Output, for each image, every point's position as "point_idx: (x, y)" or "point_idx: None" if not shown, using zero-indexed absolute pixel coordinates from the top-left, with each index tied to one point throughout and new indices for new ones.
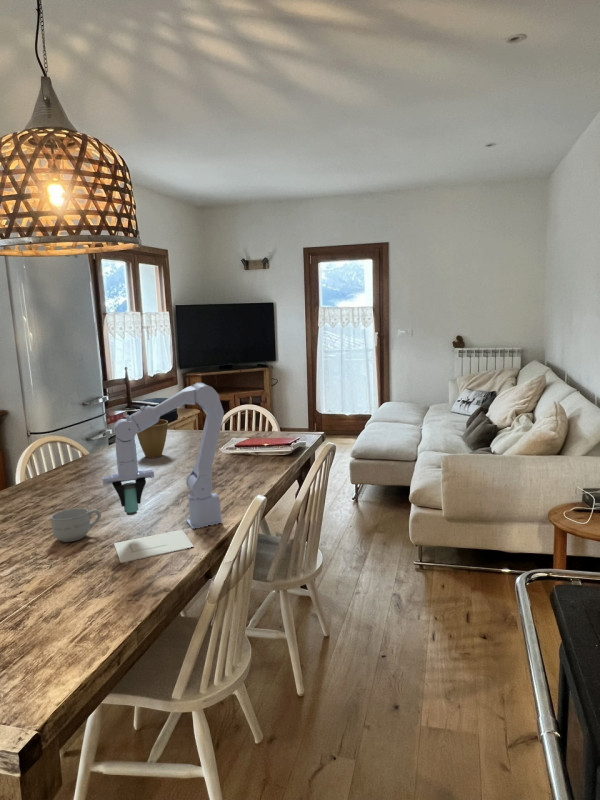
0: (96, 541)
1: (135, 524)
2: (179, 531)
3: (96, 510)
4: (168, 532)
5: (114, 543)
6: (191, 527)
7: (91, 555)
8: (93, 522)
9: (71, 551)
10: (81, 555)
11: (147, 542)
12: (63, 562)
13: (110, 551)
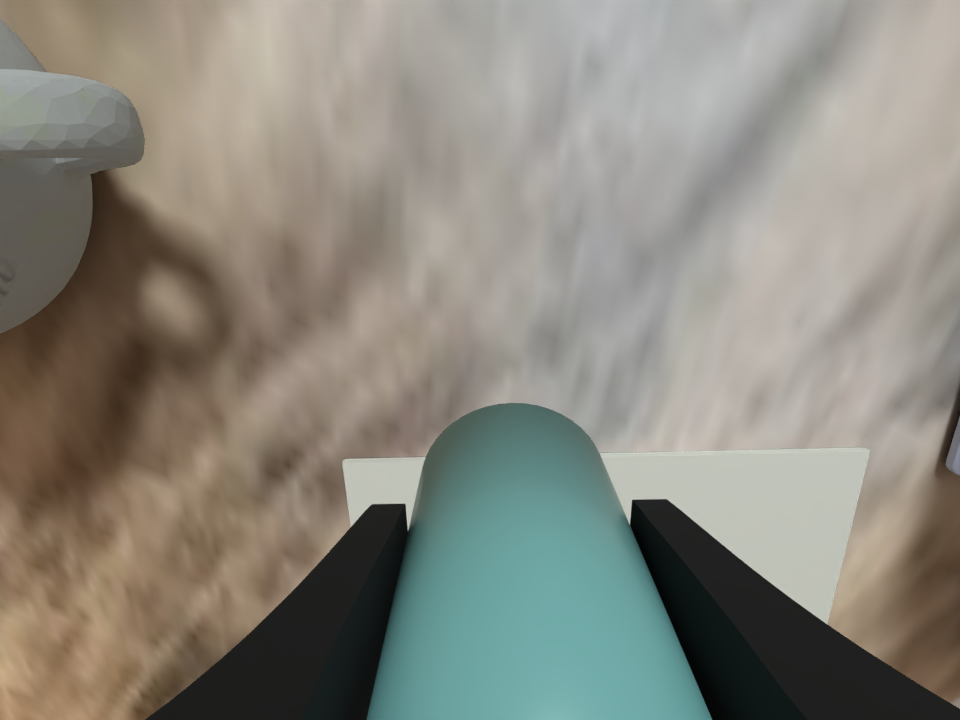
0: (210, 343)
1: (561, 86)
2: (837, 474)
3: (7, 149)
4: (758, 455)
5: (347, 470)
6: (952, 445)
7: (203, 561)
8: (87, 159)
9: (49, 443)
10: (137, 534)
11: None
12: (41, 581)
13: (322, 557)
